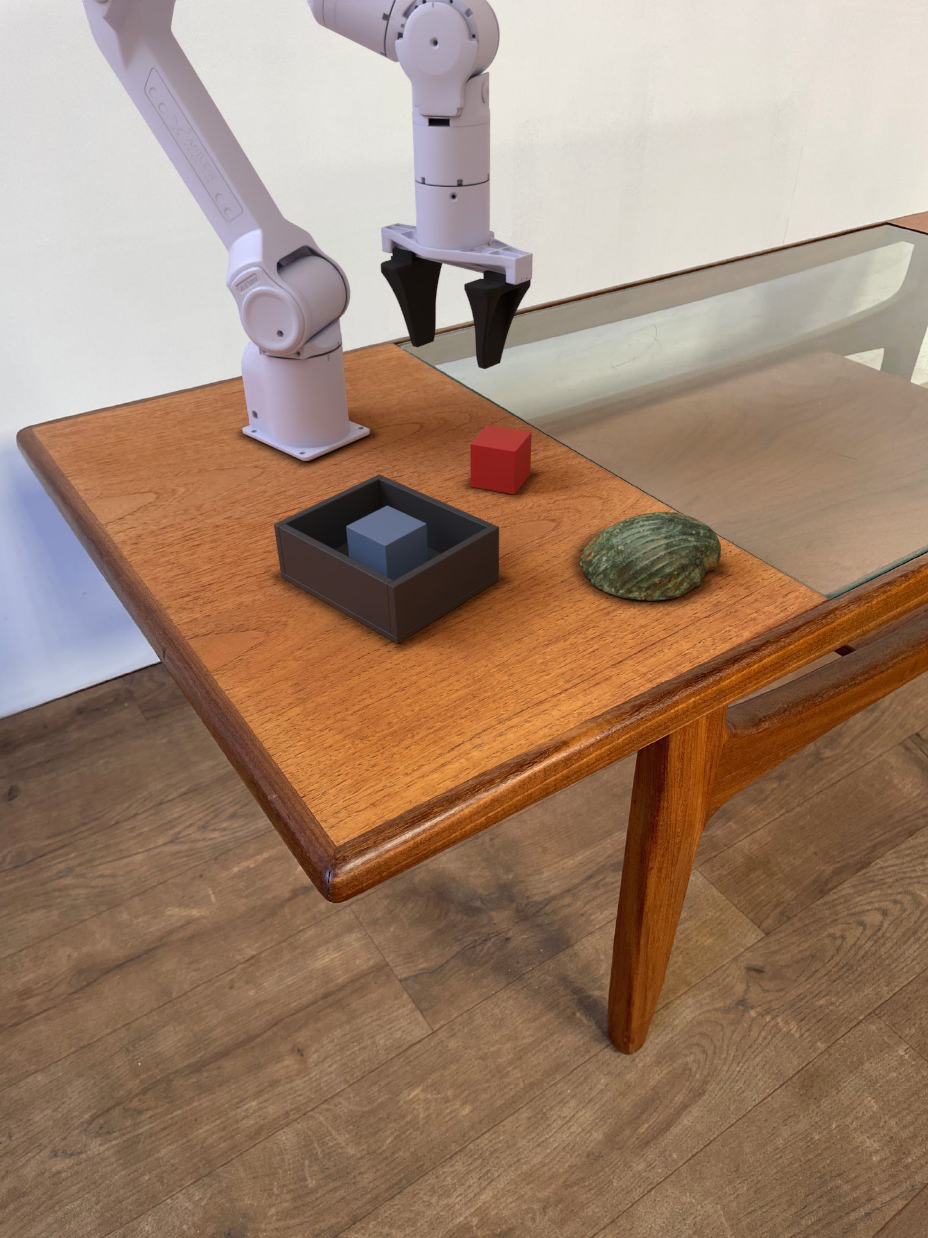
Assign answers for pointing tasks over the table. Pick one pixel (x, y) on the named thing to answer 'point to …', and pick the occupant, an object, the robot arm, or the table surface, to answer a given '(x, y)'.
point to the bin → (388, 607)
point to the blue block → (388, 542)
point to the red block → (500, 459)
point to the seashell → (651, 556)
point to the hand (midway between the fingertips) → (455, 354)
